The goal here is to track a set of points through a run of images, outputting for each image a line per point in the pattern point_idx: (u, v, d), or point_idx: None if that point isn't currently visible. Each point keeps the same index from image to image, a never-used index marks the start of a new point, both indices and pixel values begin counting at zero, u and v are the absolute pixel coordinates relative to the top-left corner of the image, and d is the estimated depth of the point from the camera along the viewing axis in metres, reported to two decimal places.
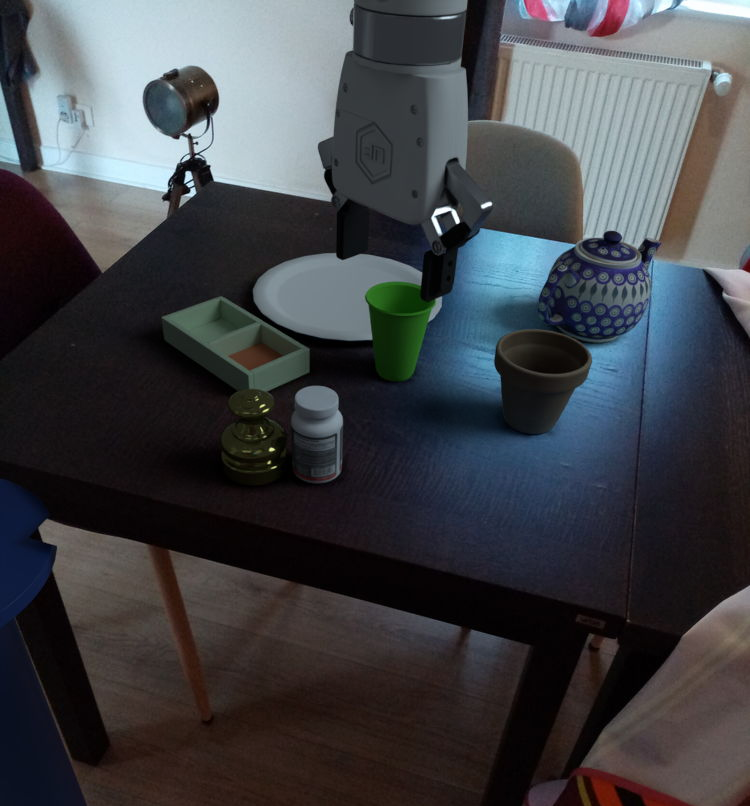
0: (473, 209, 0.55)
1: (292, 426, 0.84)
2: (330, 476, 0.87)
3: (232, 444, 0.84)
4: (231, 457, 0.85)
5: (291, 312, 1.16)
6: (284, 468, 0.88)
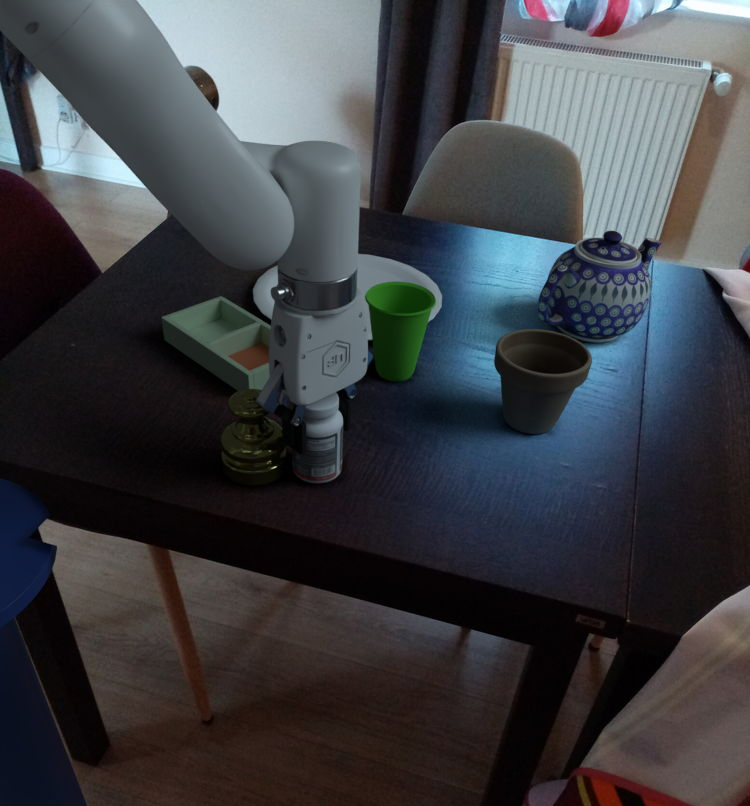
0: (368, 358, 0.85)
1: None
2: (330, 476, 0.87)
3: (232, 444, 0.84)
4: (231, 457, 0.85)
5: None
6: (284, 468, 0.88)
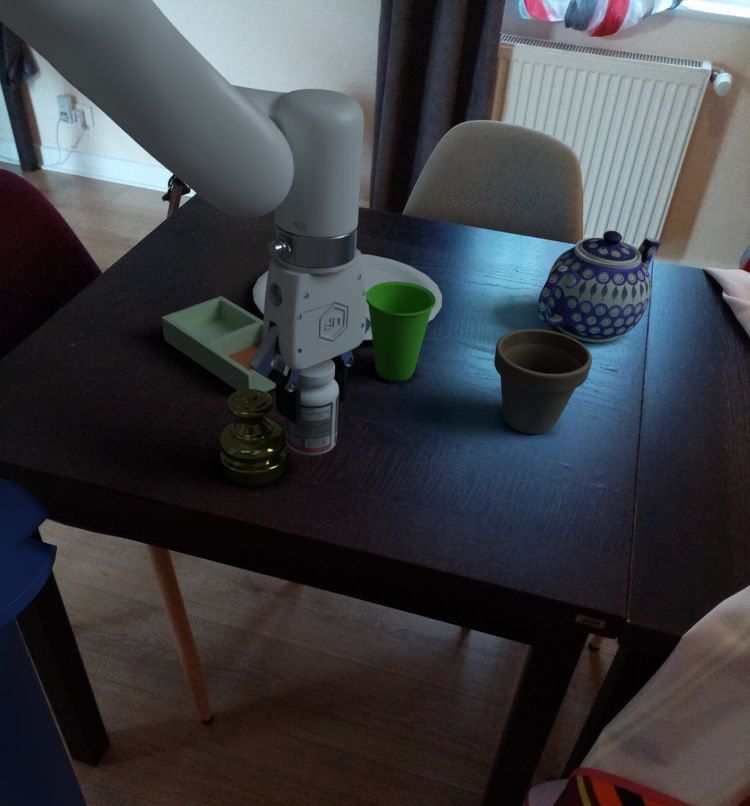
0: (365, 325, 0.82)
1: None
2: (325, 448, 0.84)
3: (231, 444, 0.84)
4: (230, 457, 0.85)
5: None
6: (283, 468, 0.88)
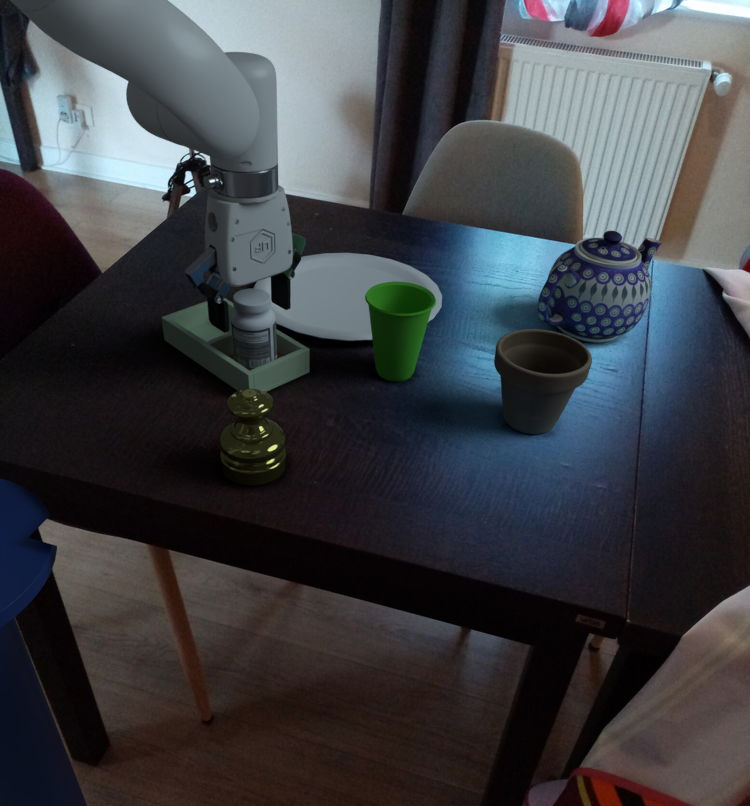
0: (301, 242, 0.99)
1: (232, 322, 0.99)
2: None
3: (231, 444, 0.84)
4: (230, 457, 0.85)
5: (291, 312, 1.16)
6: (283, 468, 0.88)
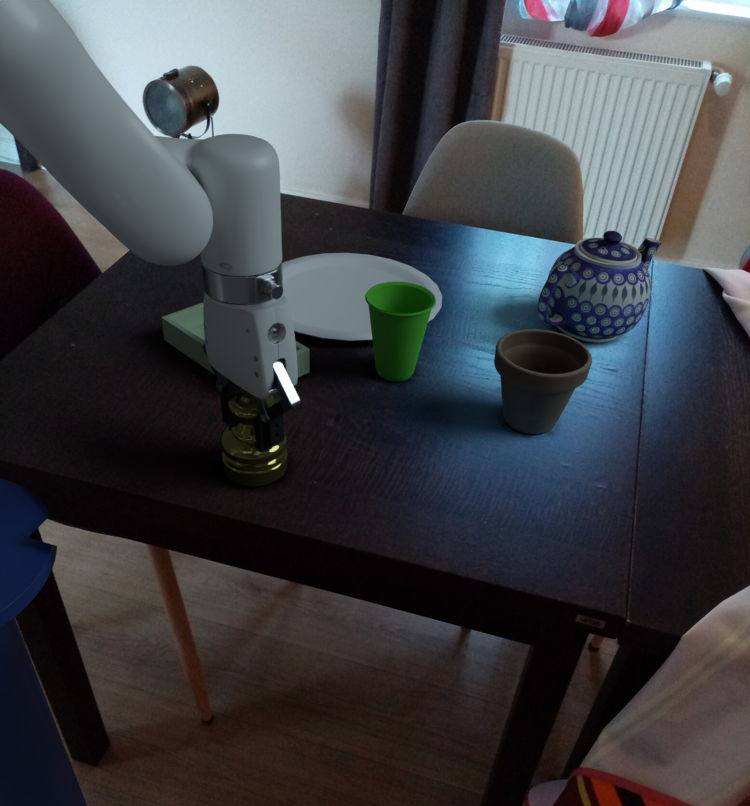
0: None
1: None
2: None
3: (233, 444, 0.84)
4: (231, 458, 0.85)
5: (291, 312, 1.16)
6: (284, 469, 0.88)
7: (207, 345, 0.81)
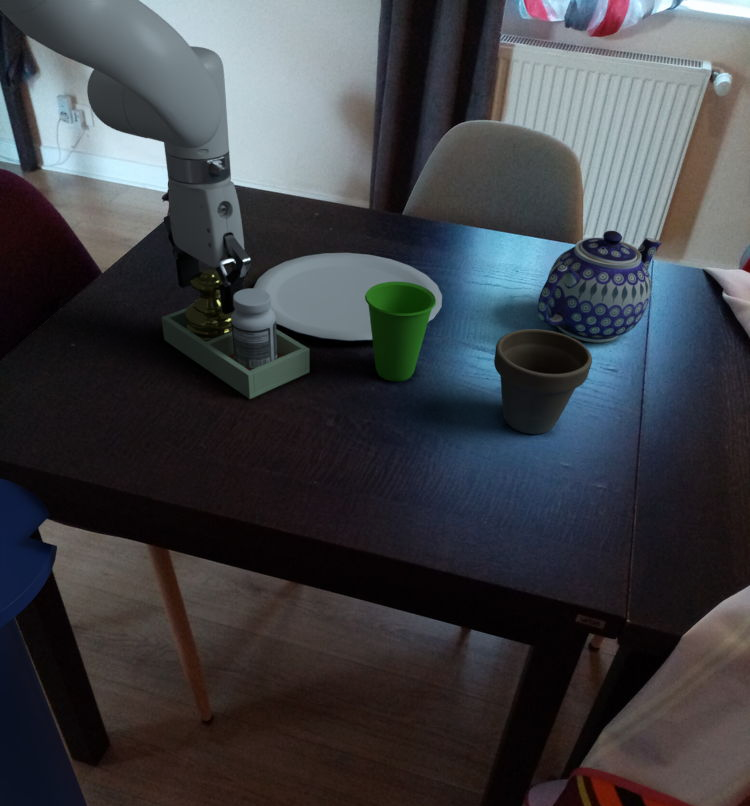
0: None
1: (232, 322, 0.99)
2: None
3: (194, 315, 1.04)
4: (193, 326, 1.04)
5: (291, 312, 1.16)
6: None
7: (172, 227, 1.00)
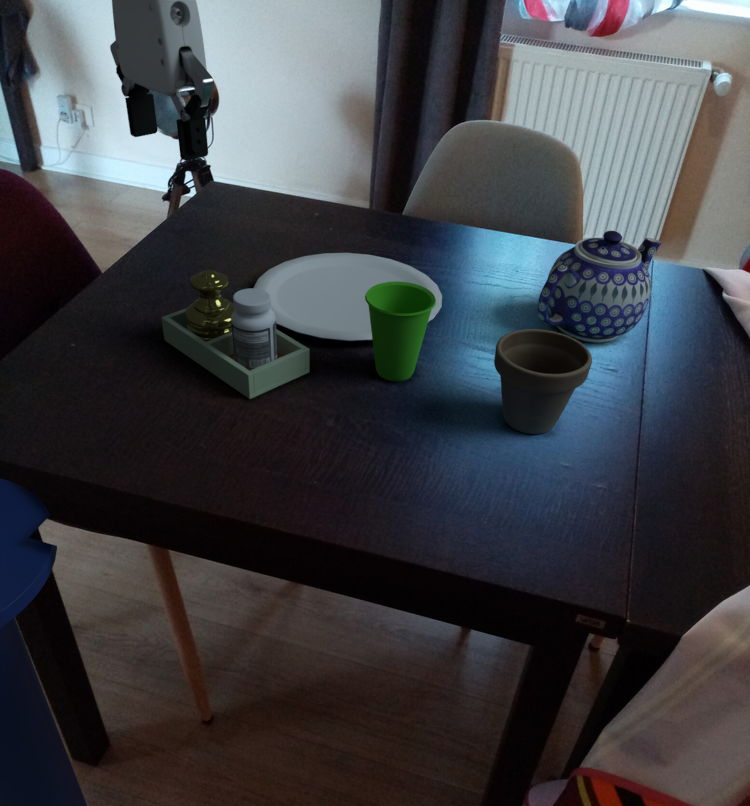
0: None
1: (232, 322, 0.99)
2: None
3: (194, 315, 1.04)
4: (193, 326, 1.04)
5: (291, 312, 1.16)
6: None
7: (118, 50, 0.81)
